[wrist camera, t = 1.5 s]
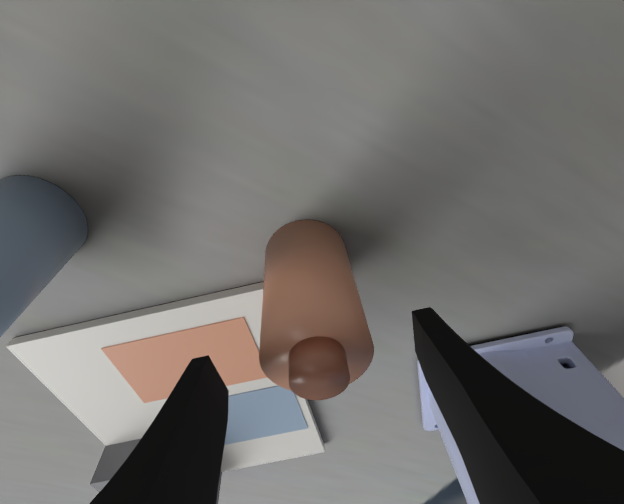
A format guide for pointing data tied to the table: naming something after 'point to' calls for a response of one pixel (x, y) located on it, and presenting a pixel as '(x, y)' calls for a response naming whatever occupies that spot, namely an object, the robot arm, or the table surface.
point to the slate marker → (34, 240)
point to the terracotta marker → (311, 313)
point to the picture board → (171, 377)
